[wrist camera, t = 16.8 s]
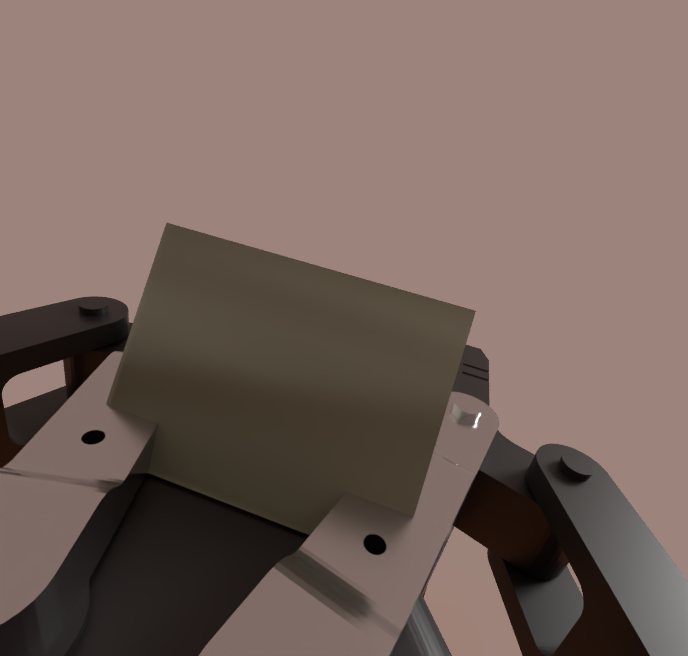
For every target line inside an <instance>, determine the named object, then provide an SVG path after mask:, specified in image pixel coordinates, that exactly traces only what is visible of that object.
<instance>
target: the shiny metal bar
mask: <svg viewBox="0 0 688 656" xmlns="http://www.w3.org/2000/svg"><path fill="white" fill-rule="evenodd" d="M475 312H476V311H474V310H471V309H467V308H464V307H460V306H456V305H453V304H450V303H446V302H443V301H439V300H436V299H432V298H428V297H425V296H421V295H418V294H414V293H411V292H407V291H404V290H401V289H397V288H393V287H390V286H386V285H383V284H379V283H376V282H372V281H369V280H365V279H362V278H358V277H355V276H351V275H348V274H344V273H341V272H337V271H334V270H330V269H327V268H323V267H320V266H316V265H313V264H309V263H306V262H302V261H299V260H295V259H292V258H288V257H285V256H281V255H278V254H274V253H271V252H267V251H264V250H260V249H257V248H253V247H250V246H246V245H243V244H239V243H236V242H232V241H229V240H225V239H222V238H218V237H215V236H211V235H208V234H204V233H201V232H197V231H194V230H190V229H187V228H183V227H180V226H176V225H173V224H169V223H167V224H166V226H165V229H164V232H163V235H162V238H161V241H160V245H159V247H158V250H157V253H156V256H155V259H154V262H153V265H152V268H151V271H150V274H149V277H148V280H147V283H146V286H145V289H144V292H143V296H142V298H141V301H140V304H139V307H138V310H137V313H136V316H135V319H134V322H133V325H132V328H131V331H130V334H129V337H128V340H127V343H126V346H125V349H124V351H123V354H122V357H121V360H120V363H119V366H118V369H117V372H116V375H115V378H114V381H113V384H112V387H111V390H110V393H109V396H108V399H107V402H106V404H107V405H110V406H112V407H115V408H118V409H121V410H123V411H126V412H129V413H132V414H134V415H137V416H140V417H143V418H145V419H148V420H151V421H153V422H156V423H158V427H157V432H156V437H155V442H154V447H153V452H152V457H151V462H150V466H149V470H148V472H147V473H149V474H152V475H155V476H157V477H160V478H162V479H165V480H168V481H170V482H173V483H175V484H178V485H181V486H183V487H186V488H188V489H191V490H194V491H196V492H199V493H201V494H204V495H207V496H209V497H212V498H214V499H217V500H220V501H222V502H225V503H227V504H230V505H232V506H235V507H238V508H240V509H243V510H245V511H248V512H251V513H253V514H256V515H258V516H261V517H264V518H266V519H269V520H271V521H274V522H277V523H279V524H282V525H284V526H287V527H290V528H292V529H295V530H297V531H300V532H303V533H305V534H308V535H311V534H312V532H313V531H314V530H315V529H316V528H317V526H318V525H319V524H320V523H321V521H322V520H323V519H324V518H325V517H326V515H327V514H328V513H329V512H330V511H331V509H332V508H333V507H334V506H335V505H336V503H337V502H338V501H339V500H340V499H341V497H342V496H343V495H344V494H345V492H348V493H350V494H353V495H356V496H359V497H361V498H364V499H367V500H369V501H372V502H375V503H378V504H380V505H383V506H386V507H389V508H391V509H394V510H397V511H400V512H402V513H405V514H408V515H411V516H413V517H414V515H415V511H416V508H417V505H418V501H419V498H420V495H421V491H422V488H423V485H424V482H425V478H426V475H427V472H428V468H429V465H430V462H431V458H432V455H433V452H434V448H435V445H436V442H437V438H438V435H439V432H440V428H441V425H442V422H443V418H444V415H445V412H446V408H447V405H448V402H449V398H450V395H451V392H452V388H453V385H454V382H455V378H456V375H457V372H458V368H459V365H460V362H461V358H462V355H463V352H464V348H465V345H466V342H467V338H468V335H469V332H470V328H471V325H472V321H473V318H474V315H475Z"/></svg>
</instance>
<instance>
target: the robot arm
mask: <svg viewBox="0 0 688 656" xmlns="http://www.w3.org/2000/svg"><path fill="white" fill-rule="evenodd" d="M128 321H129V319H128V308H127V306H126V305H125V304H124V303H123V302H120V301H118V300H116V299H112V298H107V297H83V298H77V299H73V300H68V301H64V302H60V303H55V304H51V305H47V306H42V307H38V308H33V309H29V310H25V311H20V312H16V313H11V314H7V315H3V316H0V656H452V655H451V653H450V651H449V649H448V647H447V645H446V643H445V641H444V639H443V637H442V635H441V633H440V631H439V629H438V627H437V625H436V623H435V621H434V619H433V617H432V615H431V613H430V611H429V609H428V607H427V605H426V602H425V600H424V598H423V596H422V595H423V593H424V591H425V589H426V586H427V584H428V582H429V580H430V578H431V576H432V573H433V571H434V569H435V567H436V565H437V562H438V560H439V558H440V556H441V554H442V552H443V550H444V547H445V545H446V543H447V541H448V539H449V537H450V534H451V532H452V530H453V528H454V526H455V527H456V528H458V529H459V530H461V531H462V532H464V533H465V534H467V535H468V536H470V537H471V538H473V539H474V540H476V541H477V542H479V543H480V544H482V545H483V546H485V547H486V548H488V552H487V554H488V560H489V564H490V566H491V569H492V572H493V575H494V577H495V580H496V583H497V586H498V588H499V591H500V594H501V597H502V600H503V602H504V605H505V608H506V611H507V614H508V616H509V619H510V622H511V625H512V627H513V630H514V633H515V636H516V638H517V641H518V644H519V647H520V650H521V652H522V655H523V656H688V581H687V579H686V578H685V577H684V575H683V574H682V573H681V571H680V570H679V569H678V567H677V566H676V564H675V563H674V562H673V560H672V559H671V558H670V556H669V555H668V554H667V552H666V551H665V550H664V548H663V547H662V546H661V544H660V543H659V542H658V540H657V539H656V538H655V536H654V535H653V534H652V532H651V531H650V530H649V528H648V527H647V526H646V524H645V523H644V521H643V520H642V519H641V518H640V517H639V515H638V513H637V512H636V511H635V509H634V508H633V507H632V506H631V504H630V503H629V502H628V500H627V499H626V497H625V496H624V495H623V493H622V492H621V491H620V489H619V488H618V487H617V485H616V484H615V483H614V481H613V480H612V479H611V477H610V476H609V475H608V473H607V472H606V471H605V470H604V469H603V468H602V467H601V466H600V465H599V464H598V463H597V462H596V461H594V460H593V459H592V458H590V457H589V456H587V455H585V454H583V453H582V452H580V451H577V450H576V449H573V448H571V447H568V446H563V445H559V444H546V445H543V446H541V447H540V448H539V449H538V450H537V452H536V454H535V455H534V454H532V453H530V452H529V451H527V450H525V449H523V448H521V447H519V446H517V445H516V444H514V443H512V442H511V441H509V440H508V439H507V438H505V437H504V436H503V435H502V434H501V433H500V432H499V431H498V430H497V429H498V427H499V420H498V417H497V415H496V413H495V412H494V411H493V410H492V409H491V408H490V407H489V382H488V381H489V373H488V372H489V360H488V359H487V357H486V356H485V355H484V353H483V352H482V350H481V349H478V348H475V347H472V346H469V345H465V348H464V352H463V355H462V358H461V362H460V365H459V368H458V372H457V375H456V378H455V382H454V385H453V388H452V392H451V395H450V398H449V402H448V405H447V408H446V412H445V415H444V418H443V422H442V425H441V428H440V432H439V435H438V438H437V442H436V445H435V448H434V452H433V455H432V458H431V462H430V465H429V468H428V472H427V475H426V478H425V482H424V485H423V488H422V491H421V495H420V498H419V501H418V505H417V508H416V511H415V515H414V517H413V516H411V515H408V514H405V513H402V512H400V511H397V510H394V509H391V508H389V507H386V506H383V505H380V504H378V503H375V502H372V501H369V500H367V499H364V498H361V497H359V496H356V495H353V494H350V493H348V492H345V494H344V495H343V496H342V497H341V499H340V500H339V501H338V502H337V503H336V505H335V506H334V507H333V508H332V509H331V511H330V512H329V513H328V514H327V515H326V517H325V518H324V519H323V520H322V521H321V523H320V524H319V525H318V526H317V528H316V529H315V530H314V531H313V532H312V534H311V535H308V534H305V533H303V532H300V531H297V530H295V529H292V528H290V527H287V526H284V525H282V524H279V523H277V522H274V521H271V520H269V519H266V518H264V517H261V516H258V515H256V514H253V513H251V512H248V511H245V510H243V509H240V508H238V507H235V506H232V505H230V504H227V503H225V502H222V501H220V500H217V499H214V498H212V497H209V496H207V495H204V494H201V493H199V492H196V491H194V490H191V489H188V488H186V487H183V486H181V485H178V484H175V483H173V482H170V481H168V480H165V479H162V478H160V477H157V476H155V475H152V474H149V473H147V472H148V470H149V466H150V462H151V457H152V452H153V447H154V442H155V437H156V432H157V427H158V423H156V422H153V421H151V420H148V419H145V418H143V417H140V416H137V415H134V414H132V413H129V412H126V411H123V410H121V409H118V408H115V407H112V406H110V405H107V404H106V402H107V399H108V396H109V393H110V390H111V387H112V384H113V381H114V378H115V375H116V372H117V369H118V366H119V363H120V360H121V357H122V354H123V351H124V349H125V346H126V343H127V340H128V337H129V334H130V331H131V328H132V325H133V323H129V322H128ZM60 360H63V362H64V372H65V382H66V386H64V387H61V388H58V389H56V390H53V391H50V392H48V393H45V394H42V395H40V396H37V397H34V398H31V399H29V400H26V401H23V402H21V403H18V404H15V405H12V406H10V407H7V408H4V405H3V400H2V390H3V387H4V386H5V384H6V383H7V382H8V381H9V380H10V379H11V378H12V377H14V376H16V375H18V374H20V373H23V372H26V371H29V370H32V369H35V368H38V367H42V366H45V365H48V364H51V363H54V362H57V361H60ZM568 563H570V565H571V567H572V569H573V571H574V572H575V574H576V576H577V578H578V580H579V582H580V585H581V588H582V592H583V596H582V594H581V592H580V591H579V589H578V587H577V585H576V583H575V581H574V579H573V577H572V575H571V573H570V571H569V569H568V567H567V564H568Z"/></svg>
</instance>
